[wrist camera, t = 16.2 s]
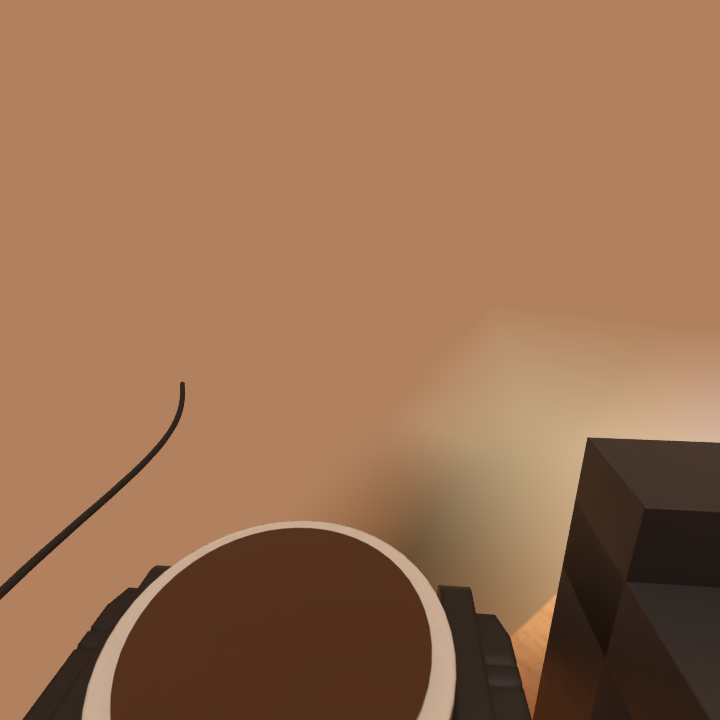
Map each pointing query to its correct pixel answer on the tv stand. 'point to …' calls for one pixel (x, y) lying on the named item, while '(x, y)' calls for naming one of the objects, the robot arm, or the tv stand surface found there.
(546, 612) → the tv stand surface
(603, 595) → the coffee machine
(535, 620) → the tv stand surface
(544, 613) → the tv stand surface
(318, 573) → the white cup
